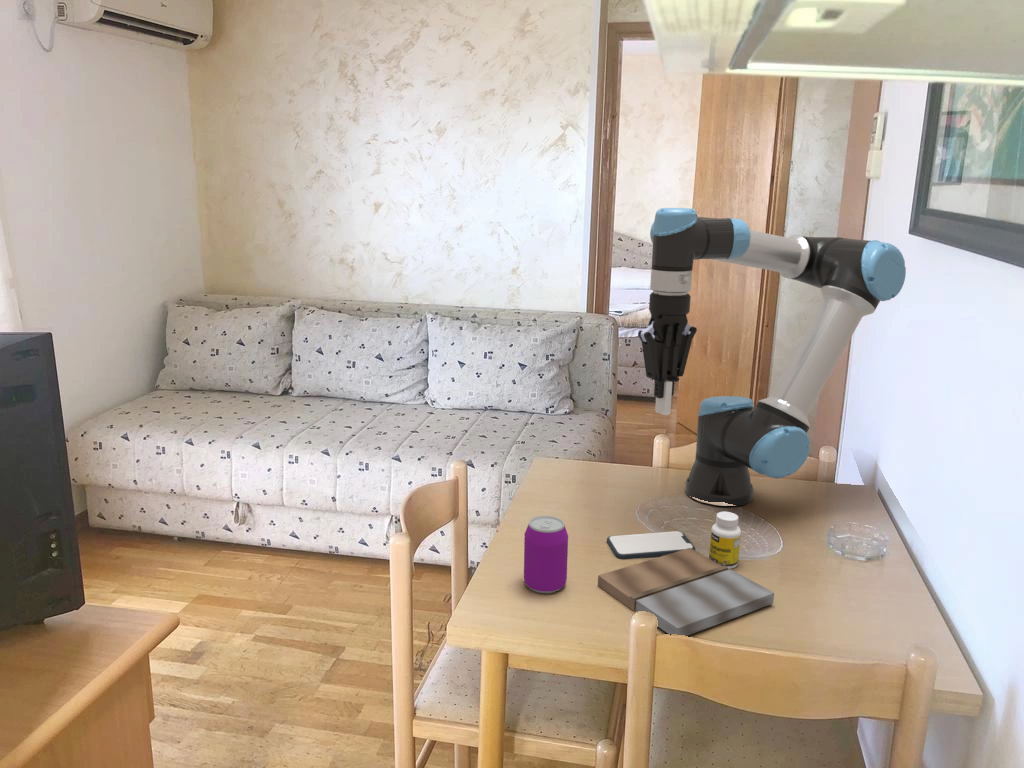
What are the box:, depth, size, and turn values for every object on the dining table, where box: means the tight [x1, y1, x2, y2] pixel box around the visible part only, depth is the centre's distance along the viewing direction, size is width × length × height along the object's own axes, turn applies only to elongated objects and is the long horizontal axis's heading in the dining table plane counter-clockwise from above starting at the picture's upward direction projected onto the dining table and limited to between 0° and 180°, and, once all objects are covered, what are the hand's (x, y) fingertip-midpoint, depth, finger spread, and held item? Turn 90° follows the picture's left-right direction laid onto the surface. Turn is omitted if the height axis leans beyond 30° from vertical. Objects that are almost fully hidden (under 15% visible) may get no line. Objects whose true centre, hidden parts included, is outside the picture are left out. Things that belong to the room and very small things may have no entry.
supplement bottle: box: [708, 511, 742, 570], centre depth 151 cm, size 5×5×10 cm
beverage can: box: [523, 515, 569, 594], centre depth 142 cm, size 8×8×12 cm
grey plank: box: [635, 569, 775, 637], centre depth 135 cm, size 22×10×2 cm, turn 121°
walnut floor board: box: [597, 548, 729, 612], centre depth 144 cm, size 22×10×2 cm, turn 121°
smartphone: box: [606, 530, 696, 560], centre depth 158 cm, size 9×2×16 cm
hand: (662, 412), depth 156 cm, fingers closed
